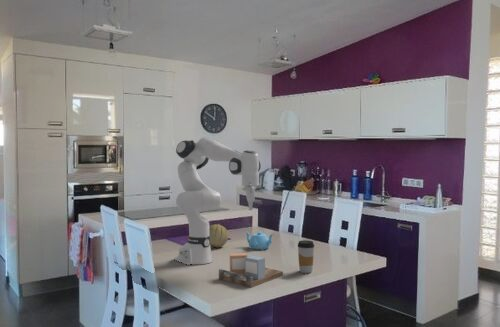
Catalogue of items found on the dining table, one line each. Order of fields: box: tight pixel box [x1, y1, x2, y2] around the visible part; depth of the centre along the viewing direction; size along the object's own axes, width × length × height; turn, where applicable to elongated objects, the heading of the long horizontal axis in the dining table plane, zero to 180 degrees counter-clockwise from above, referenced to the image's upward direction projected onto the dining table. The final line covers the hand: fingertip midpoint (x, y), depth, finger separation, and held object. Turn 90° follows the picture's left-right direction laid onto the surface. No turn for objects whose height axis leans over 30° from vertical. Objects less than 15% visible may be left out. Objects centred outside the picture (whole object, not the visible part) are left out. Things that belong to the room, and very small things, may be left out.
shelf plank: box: [218, 267, 284, 288], centre depth 202 cm, size 20×24×4 cm
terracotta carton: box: [229, 252, 248, 274], centre depth 202 cm, size 5×8×9 cm, turn 97°
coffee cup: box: [297, 239, 315, 274], centre depth 212 cm, size 8×8×15 cm
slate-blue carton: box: [245, 255, 266, 280], centre depth 195 cm, size 5×8×9 cm, turn 50°
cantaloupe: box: [209, 222, 229, 248], centre depth 268 cm, size 15×15×15 cm
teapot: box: [245, 231, 274, 250], centre depth 265 cm, size 15×15×10 cm
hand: (250, 208), depth 218 cm, fingers open, 8 cm apart
